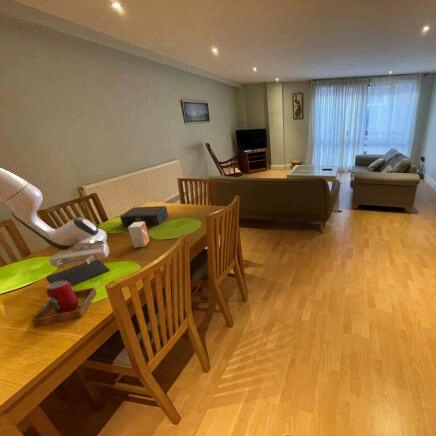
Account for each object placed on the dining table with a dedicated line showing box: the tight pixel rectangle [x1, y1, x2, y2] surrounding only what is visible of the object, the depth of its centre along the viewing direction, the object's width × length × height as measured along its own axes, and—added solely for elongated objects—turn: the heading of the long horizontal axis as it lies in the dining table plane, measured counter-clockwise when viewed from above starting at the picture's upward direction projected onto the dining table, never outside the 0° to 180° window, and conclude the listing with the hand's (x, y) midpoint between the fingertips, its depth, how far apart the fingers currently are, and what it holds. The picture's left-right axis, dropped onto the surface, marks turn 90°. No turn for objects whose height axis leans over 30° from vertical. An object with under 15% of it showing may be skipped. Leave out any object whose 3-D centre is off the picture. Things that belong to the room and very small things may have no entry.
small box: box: [127, 222, 150, 248], centre depth 141 cm, size 8×6×13 cm
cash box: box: [120, 205, 169, 227], centre depth 176 cm, size 25×20×8 cm
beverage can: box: [46, 280, 80, 314], centre depth 92 cm, size 7×7×12 cm
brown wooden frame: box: [31, 287, 98, 328], centre depth 94 cm, size 14×14×3 cm
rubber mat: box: [46, 259, 111, 287], centre depth 116 cm, size 20×18×1 cm
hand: (72, 265), depth 100 cm, fingers open, 8 cm apart
